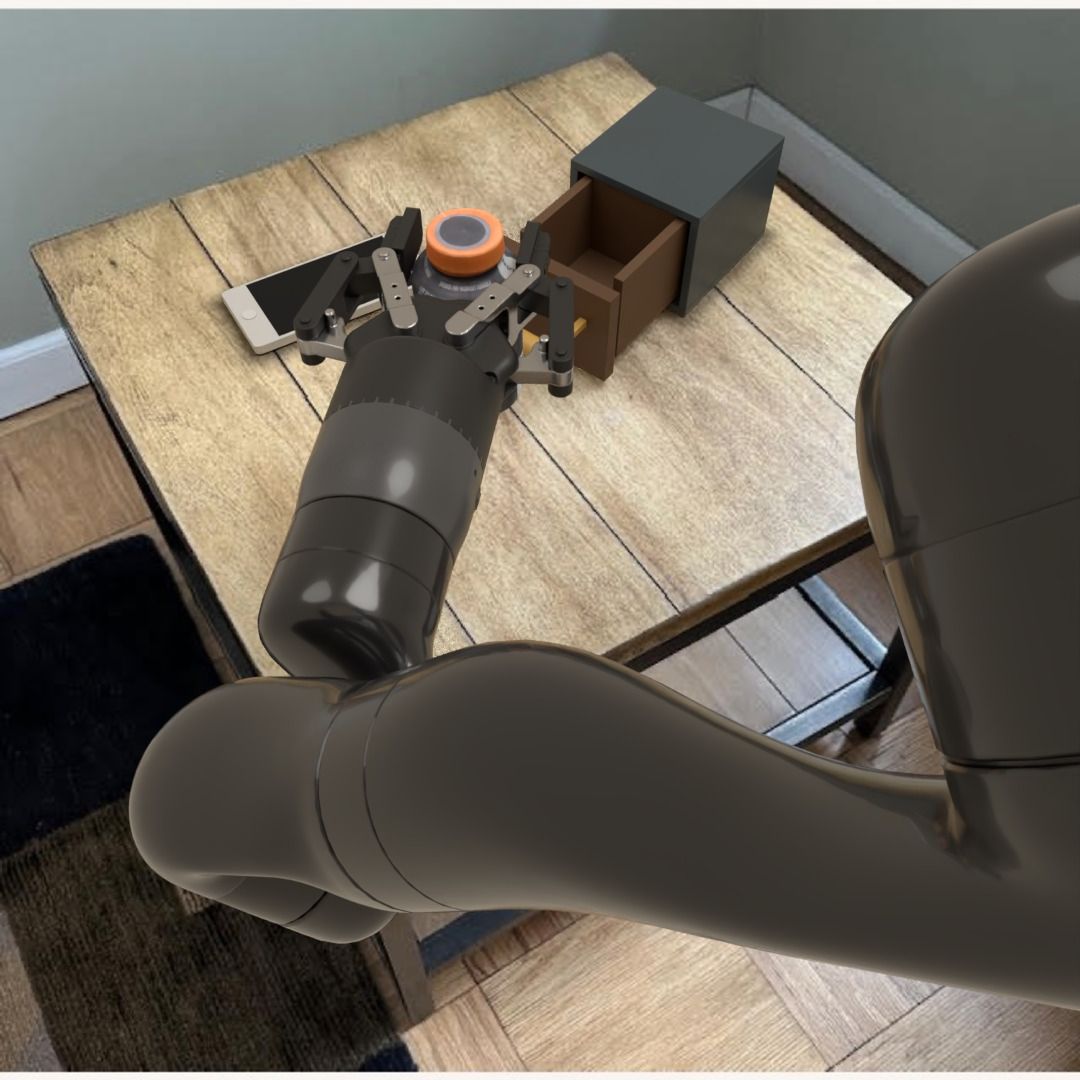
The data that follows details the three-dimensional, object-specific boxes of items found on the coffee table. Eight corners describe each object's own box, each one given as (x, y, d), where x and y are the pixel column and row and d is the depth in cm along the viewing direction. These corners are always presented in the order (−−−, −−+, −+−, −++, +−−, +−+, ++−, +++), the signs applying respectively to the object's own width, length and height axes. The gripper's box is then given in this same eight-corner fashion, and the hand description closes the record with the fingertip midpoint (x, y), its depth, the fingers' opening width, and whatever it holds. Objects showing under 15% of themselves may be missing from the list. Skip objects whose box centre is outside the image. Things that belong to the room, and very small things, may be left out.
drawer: (564, 423, 78) (567, 344, 72) (453, 360, 81) (446, 280, 75) (687, 298, 86) (699, 217, 79) (581, 246, 89) (585, 164, 83)
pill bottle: (540, 369, 66) (542, 212, 56) (496, 436, 62) (492, 281, 53) (451, 339, 67) (440, 181, 58) (404, 403, 64) (384, 246, 55)
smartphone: (222, 300, 86) (219, 291, 85) (398, 235, 91) (397, 226, 90) (257, 356, 83) (255, 347, 82) (438, 286, 87) (438, 277, 87)
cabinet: (684, 317, 86) (700, 218, 78) (566, 258, 90) (570, 159, 82) (764, 235, 92) (785, 136, 84) (650, 184, 95) (660, 84, 88)
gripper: (560, 430, 45) (612, 181, 55) (224, 386, 46) (333, 151, 56) (556, 538, 51) (604, 297, 61) (259, 496, 52) (353, 267, 62)
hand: (474, 228), depth 58 cm, fingers closed on pill bottle, 6 cm apart
